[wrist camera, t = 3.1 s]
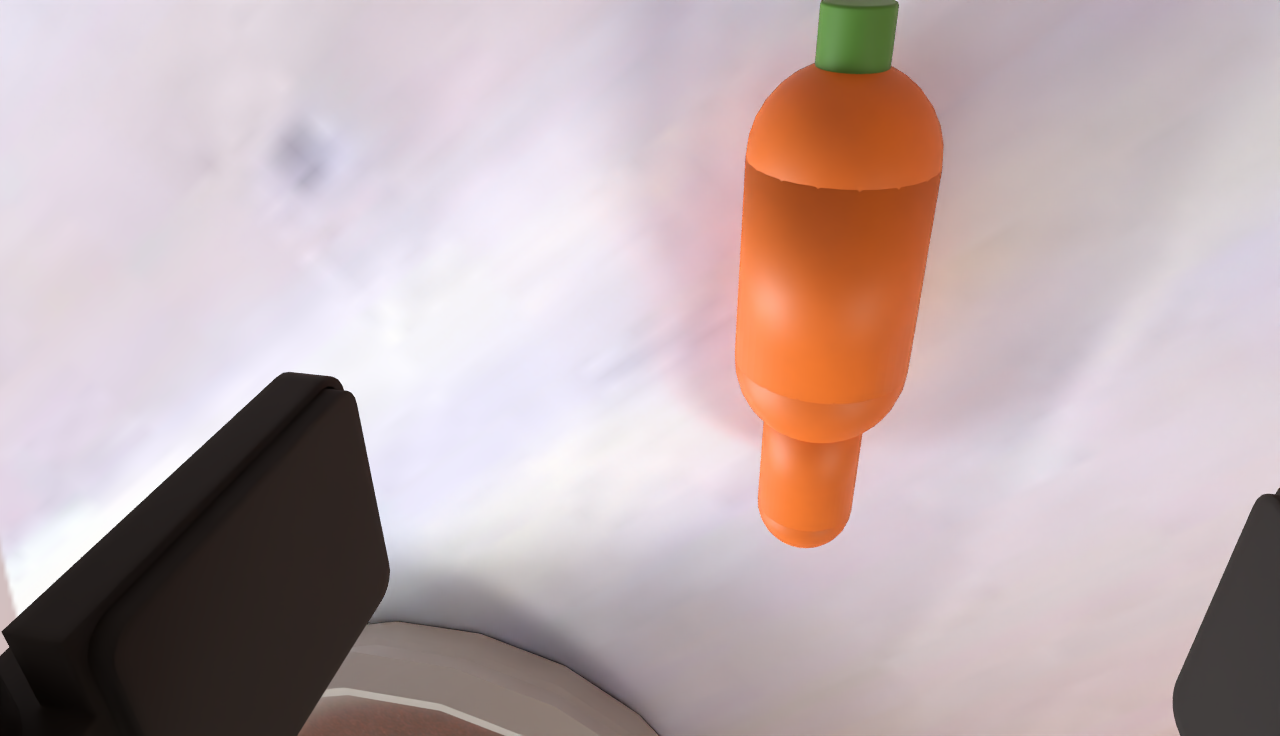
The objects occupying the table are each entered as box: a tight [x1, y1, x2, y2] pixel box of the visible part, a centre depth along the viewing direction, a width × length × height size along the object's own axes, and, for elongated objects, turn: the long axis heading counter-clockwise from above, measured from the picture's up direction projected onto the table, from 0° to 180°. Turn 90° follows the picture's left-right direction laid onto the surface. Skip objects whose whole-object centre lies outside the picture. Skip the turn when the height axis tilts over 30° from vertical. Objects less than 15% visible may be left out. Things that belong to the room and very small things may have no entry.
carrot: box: [735, 0, 944, 548], centre depth 15 cm, size 10×3×3 cm, turn 1°
